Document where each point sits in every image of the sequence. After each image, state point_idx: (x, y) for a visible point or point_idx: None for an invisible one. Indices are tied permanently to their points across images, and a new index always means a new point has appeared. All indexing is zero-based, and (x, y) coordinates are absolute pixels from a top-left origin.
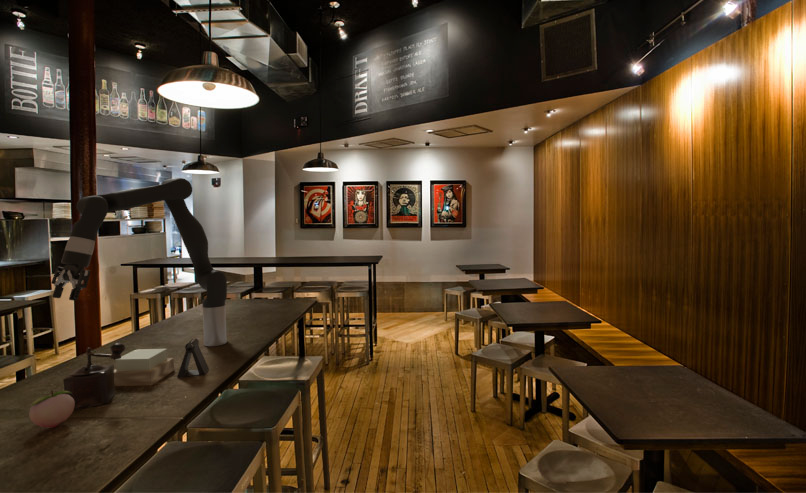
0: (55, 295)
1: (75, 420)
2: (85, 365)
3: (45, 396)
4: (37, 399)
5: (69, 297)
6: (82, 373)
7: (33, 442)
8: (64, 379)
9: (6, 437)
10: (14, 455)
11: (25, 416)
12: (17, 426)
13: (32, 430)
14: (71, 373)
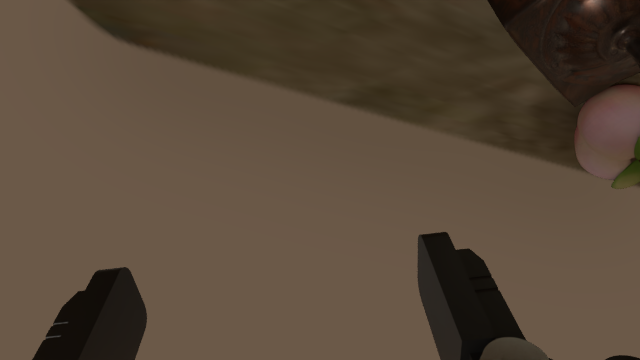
0: (138, 327)
1: None
2: (605, 45)
3: (635, 175)
4: (622, 185)
5: (426, 308)
6: (630, 68)
7: None
8: (577, 105)
9: (522, 154)
10: None
11: (447, 101)
12: (490, 128)
13: (552, 123)
14: (553, 70)
